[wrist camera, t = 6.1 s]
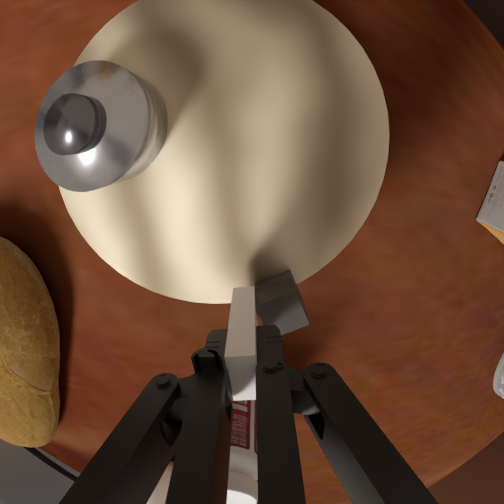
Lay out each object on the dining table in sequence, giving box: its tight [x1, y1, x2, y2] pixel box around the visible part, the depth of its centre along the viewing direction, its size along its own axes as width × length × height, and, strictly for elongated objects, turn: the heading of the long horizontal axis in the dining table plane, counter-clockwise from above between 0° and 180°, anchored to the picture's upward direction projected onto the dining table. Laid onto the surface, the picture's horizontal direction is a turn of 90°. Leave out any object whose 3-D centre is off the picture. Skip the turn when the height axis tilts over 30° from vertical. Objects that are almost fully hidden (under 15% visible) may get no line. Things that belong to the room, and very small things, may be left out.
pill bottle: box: [226, 396, 258, 504], centre depth 22 cm, size 6×6×11 cm
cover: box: [35, 60, 168, 192], centre depth 13 cm, size 7×7×6 cm
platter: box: [59, 0, 389, 335], centre depth 15 cm, size 22×23×4 cm
